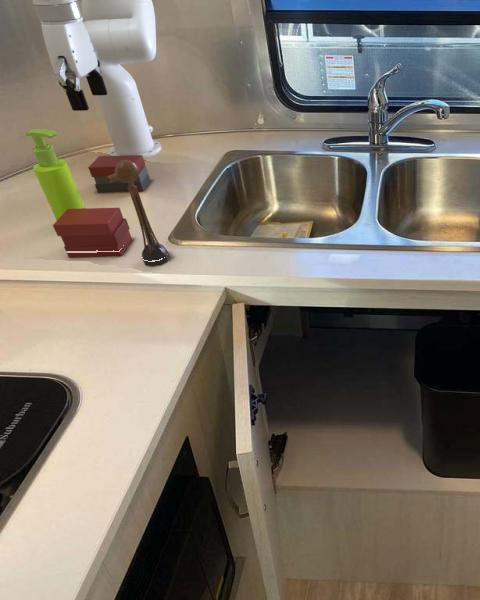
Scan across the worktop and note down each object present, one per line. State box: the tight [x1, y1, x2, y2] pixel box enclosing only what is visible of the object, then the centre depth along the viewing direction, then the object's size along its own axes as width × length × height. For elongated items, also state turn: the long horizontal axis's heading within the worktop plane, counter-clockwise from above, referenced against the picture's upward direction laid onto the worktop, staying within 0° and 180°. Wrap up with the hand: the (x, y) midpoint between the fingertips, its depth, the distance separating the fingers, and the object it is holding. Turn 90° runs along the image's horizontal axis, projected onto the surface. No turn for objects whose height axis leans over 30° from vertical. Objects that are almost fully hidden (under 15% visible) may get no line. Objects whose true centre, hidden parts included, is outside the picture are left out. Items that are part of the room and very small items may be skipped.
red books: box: [52, 207, 133, 258], centre depth 106 cm, size 10×6×7 cm, turn 92°
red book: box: [87, 155, 146, 178], centre depth 126 cm, size 10×6×2 cm, turn 92°
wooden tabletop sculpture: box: [106, 160, 171, 268], centre depth 99 cm, size 6×5×20 cm
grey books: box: [93, 165, 151, 193], centre depth 128 cm, size 10×5×4 cm, turn 92°
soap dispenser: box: [25, 128, 86, 221], centre depth 110 cm, size 6×7×20 cm
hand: (91, 102), depth 117 cm, fingers open, 9 cm apart
